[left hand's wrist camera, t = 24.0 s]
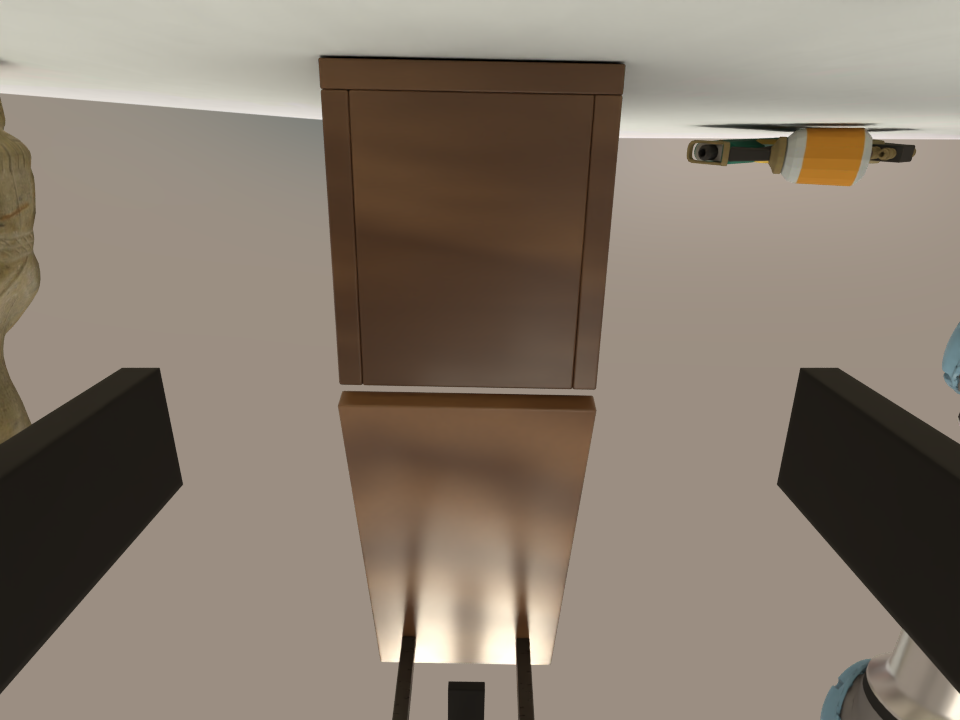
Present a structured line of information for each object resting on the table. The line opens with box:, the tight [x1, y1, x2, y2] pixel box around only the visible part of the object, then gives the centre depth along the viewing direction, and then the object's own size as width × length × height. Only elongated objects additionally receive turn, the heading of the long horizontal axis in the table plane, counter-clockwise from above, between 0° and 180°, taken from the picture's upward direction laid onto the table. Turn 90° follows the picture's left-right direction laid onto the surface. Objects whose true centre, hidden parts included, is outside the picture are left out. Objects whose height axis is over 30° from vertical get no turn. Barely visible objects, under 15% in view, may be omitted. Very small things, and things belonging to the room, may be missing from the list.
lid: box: [338, 391, 596, 720], centre depth 24 cm, size 19×9×8 cm
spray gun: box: [687, 128, 916, 186], centre depth 51 cm, size 4×17×15 cm
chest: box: [319, 58, 625, 390], centre depth 28 cm, size 18×9×11 cm, turn 0°
